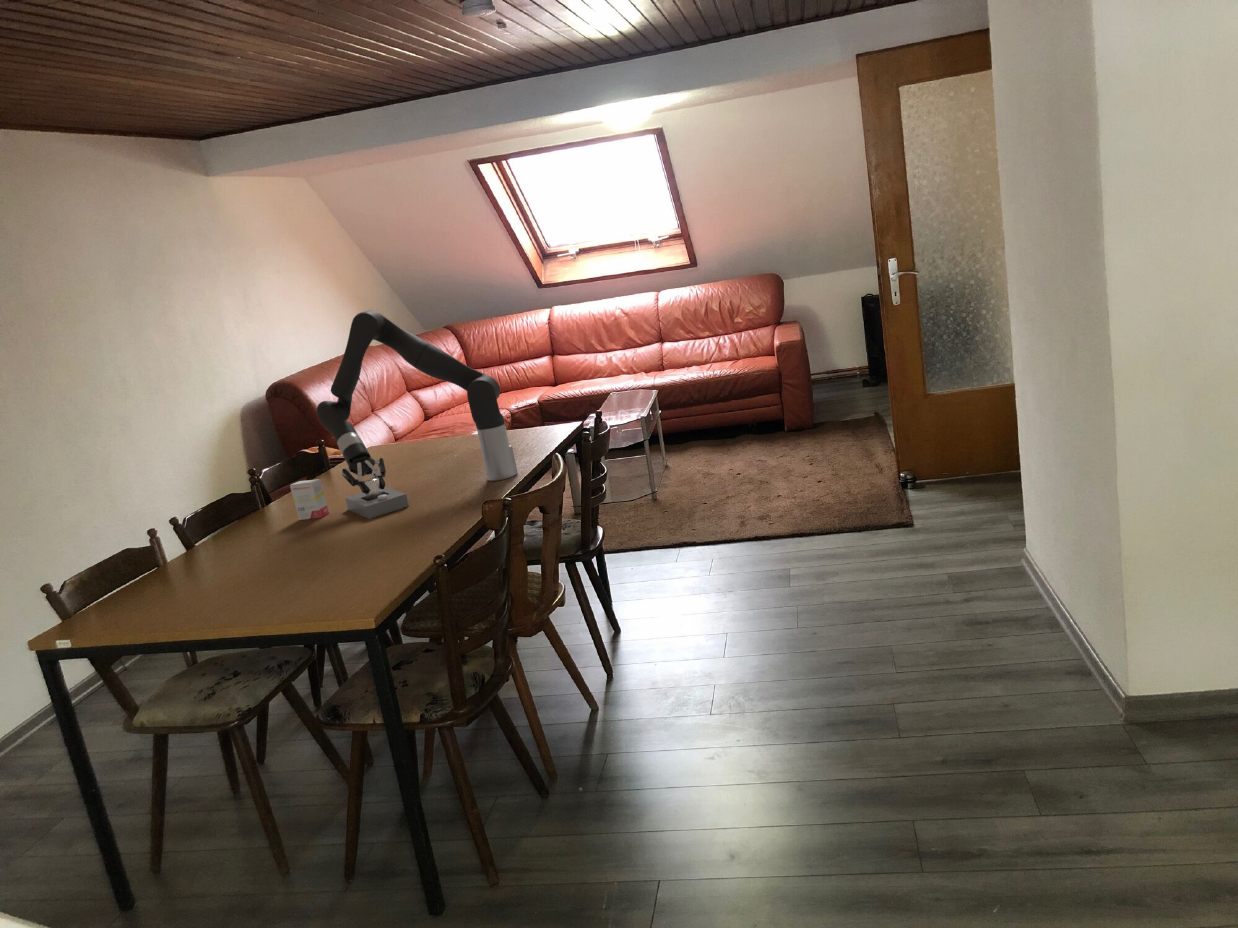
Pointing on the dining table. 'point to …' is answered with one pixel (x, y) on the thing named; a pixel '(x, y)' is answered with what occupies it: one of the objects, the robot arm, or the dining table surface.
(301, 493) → the ink box
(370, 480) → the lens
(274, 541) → the dining table surface
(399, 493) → the grey slotted tray
